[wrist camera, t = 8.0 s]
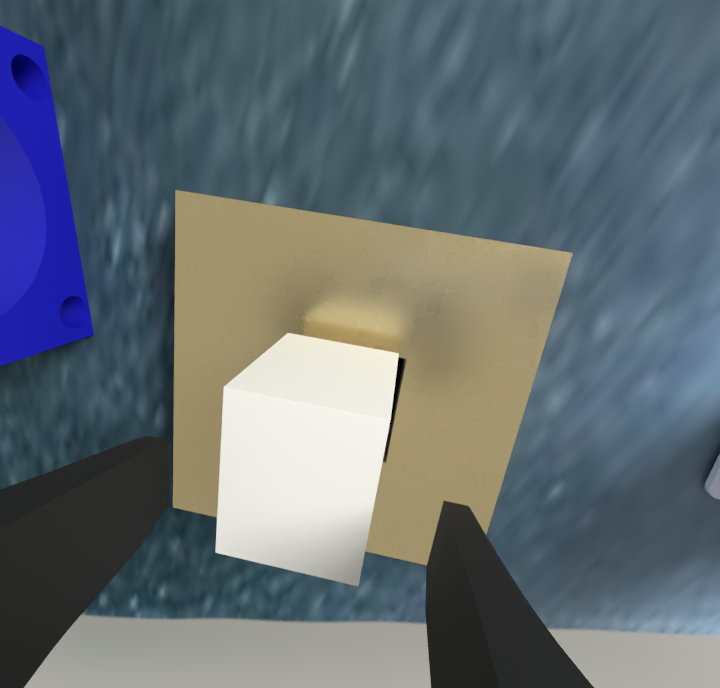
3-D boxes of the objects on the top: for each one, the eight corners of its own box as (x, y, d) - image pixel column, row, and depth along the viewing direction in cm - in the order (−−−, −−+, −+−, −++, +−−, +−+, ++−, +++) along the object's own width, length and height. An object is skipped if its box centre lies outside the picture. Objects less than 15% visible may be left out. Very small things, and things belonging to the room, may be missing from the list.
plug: (401, 331, 17) (390, 420, 9) (381, 435, 18) (358, 586, 11) (309, 314, 17) (223, 386, 9) (297, 418, 18) (215, 552, 11)
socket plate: (548, 249, 16) (582, 254, 12) (466, 534, 20) (476, 592, 17) (209, 195, 17) (162, 188, 14) (200, 475, 21) (162, 519, 18)
